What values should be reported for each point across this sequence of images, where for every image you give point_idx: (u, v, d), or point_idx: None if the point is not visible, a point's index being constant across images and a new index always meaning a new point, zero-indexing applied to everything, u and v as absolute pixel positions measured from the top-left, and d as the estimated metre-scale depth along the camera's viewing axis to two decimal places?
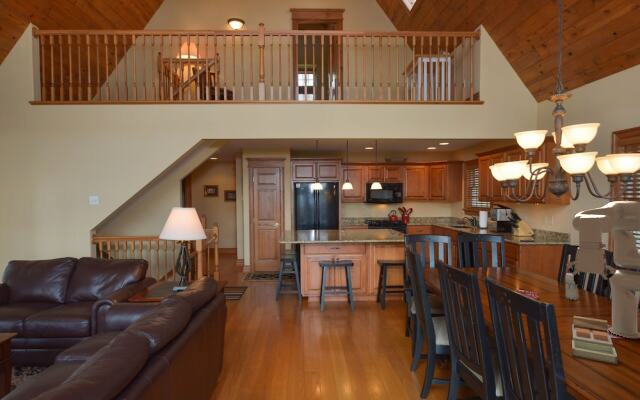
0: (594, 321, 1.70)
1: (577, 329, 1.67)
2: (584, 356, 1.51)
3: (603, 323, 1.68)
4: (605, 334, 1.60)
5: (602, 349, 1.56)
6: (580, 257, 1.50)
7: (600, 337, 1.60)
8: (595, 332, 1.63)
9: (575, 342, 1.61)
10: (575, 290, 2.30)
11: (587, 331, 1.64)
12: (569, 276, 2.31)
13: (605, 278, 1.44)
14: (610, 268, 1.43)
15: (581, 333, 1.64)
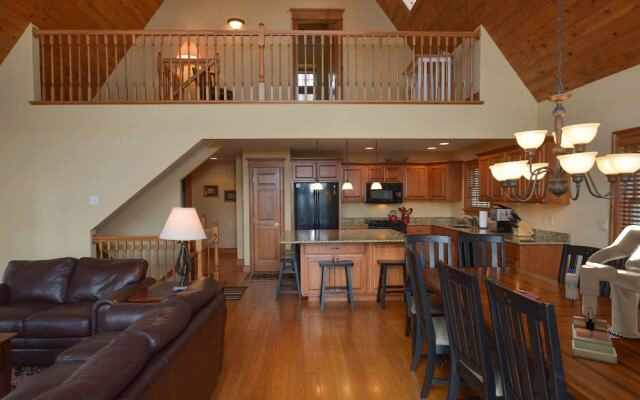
0: (594, 321, 1.70)
1: (577, 329, 1.67)
2: (584, 356, 1.51)
3: (603, 323, 1.68)
4: (605, 334, 1.60)
5: (602, 349, 1.56)
6: None
7: (600, 337, 1.60)
8: (595, 332, 1.63)
9: (575, 342, 1.61)
10: (575, 290, 2.30)
11: (587, 331, 1.64)
12: (569, 276, 2.31)
13: None
14: None
15: (581, 333, 1.64)
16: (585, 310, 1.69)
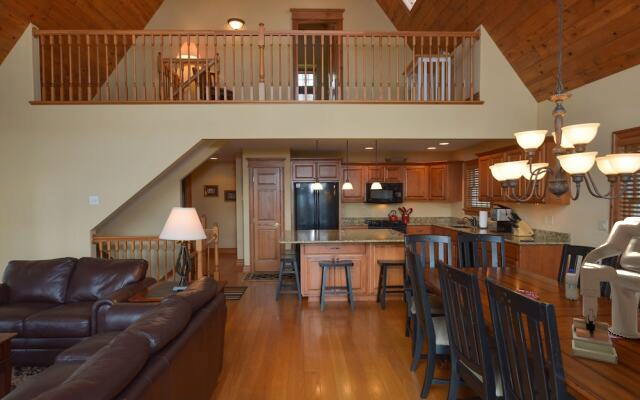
0: (594, 323, 1.66)
1: (577, 329, 1.66)
2: (584, 356, 1.51)
3: (603, 326, 1.64)
4: (605, 334, 1.60)
5: (602, 349, 1.56)
6: (596, 305, 1.64)
7: (600, 337, 1.60)
8: (595, 332, 1.62)
9: (575, 342, 1.61)
10: (575, 290, 2.30)
11: (587, 331, 1.64)
12: (569, 276, 2.31)
13: None
14: None
15: (581, 333, 1.63)
16: (585, 312, 1.64)
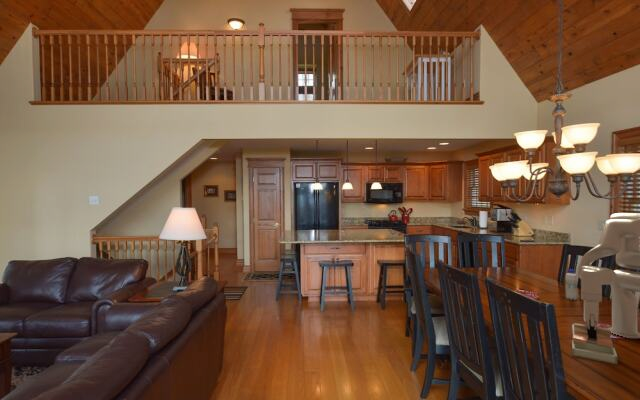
0: (596, 329, 1.59)
1: (575, 334, 1.61)
2: (584, 356, 1.51)
3: (605, 331, 1.57)
4: (609, 340, 1.54)
5: (602, 349, 1.56)
6: (598, 309, 1.57)
7: (604, 343, 1.54)
8: (599, 338, 1.56)
9: (575, 342, 1.61)
10: (575, 290, 2.30)
11: (585, 338, 1.58)
12: (569, 276, 2.31)
13: None
14: None
15: (578, 340, 1.58)
16: (586, 317, 1.58)
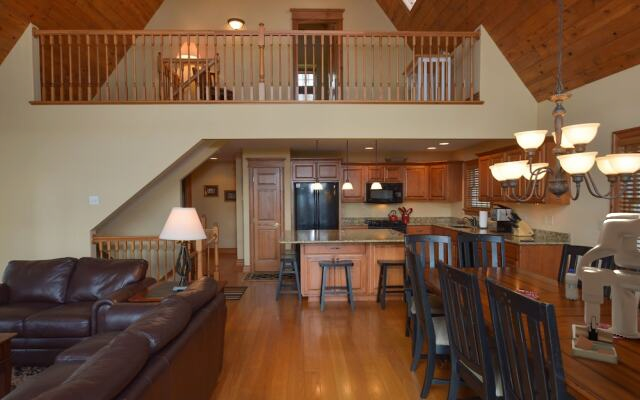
0: (598, 331, 1.55)
1: (580, 340, 1.56)
2: (584, 356, 1.51)
3: (608, 334, 1.53)
4: None
5: (602, 349, 1.56)
6: None
7: None
8: None
9: None
10: (575, 290, 2.30)
11: (588, 347, 1.55)
12: (569, 276, 2.31)
13: None
14: None
15: None
16: (588, 319, 1.54)
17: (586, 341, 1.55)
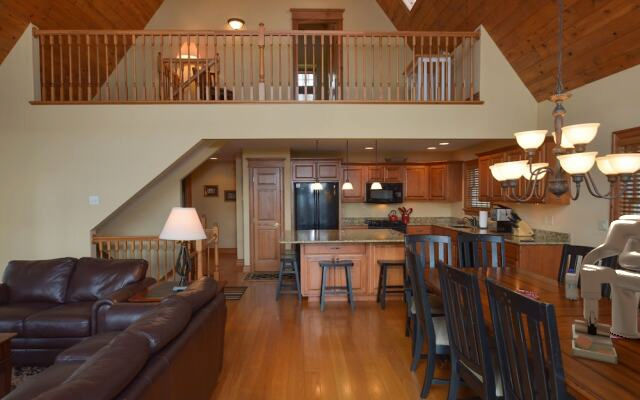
0: (596, 326, 1.64)
1: (579, 337, 1.58)
2: (584, 356, 1.51)
3: (605, 328, 1.62)
4: None
5: (602, 349, 1.56)
6: None
7: None
8: None
9: None
10: (575, 290, 2.30)
11: (587, 344, 1.56)
12: (569, 276, 2.31)
13: None
14: None
15: (579, 344, 1.57)
16: (587, 314, 1.63)
17: (585, 339, 1.58)
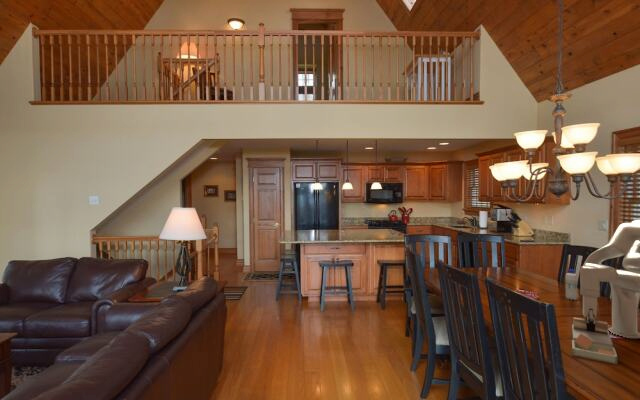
0: None
1: (579, 337, 1.58)
2: (584, 356, 1.51)
3: (603, 325, 1.66)
4: None
5: (602, 349, 1.56)
6: (596, 304, 1.66)
7: None
8: None
9: None
10: (575, 290, 2.30)
11: (587, 344, 1.56)
12: (569, 276, 2.31)
13: None
14: None
15: (579, 344, 1.57)
16: (585, 311, 1.67)
17: (585, 339, 1.58)
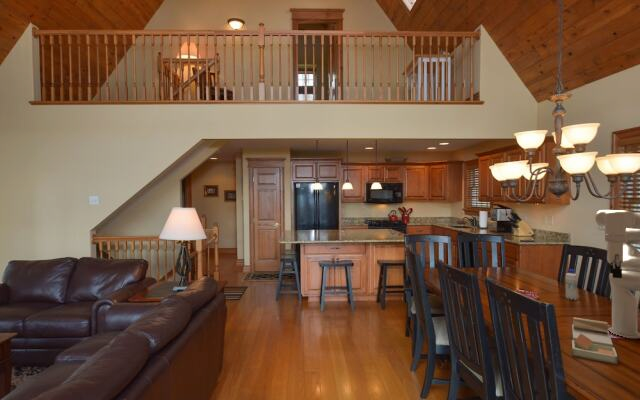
0: (594, 323, 1.68)
1: (579, 337, 1.58)
2: (584, 356, 1.51)
3: (603, 325, 1.66)
4: None
5: (602, 349, 1.56)
6: (623, 250, 1.58)
7: None
8: None
9: None
10: (575, 290, 2.30)
11: (587, 344, 1.56)
12: (569, 276, 2.31)
13: None
14: None
15: (579, 344, 1.57)
16: (611, 258, 1.59)
17: (585, 339, 1.58)
